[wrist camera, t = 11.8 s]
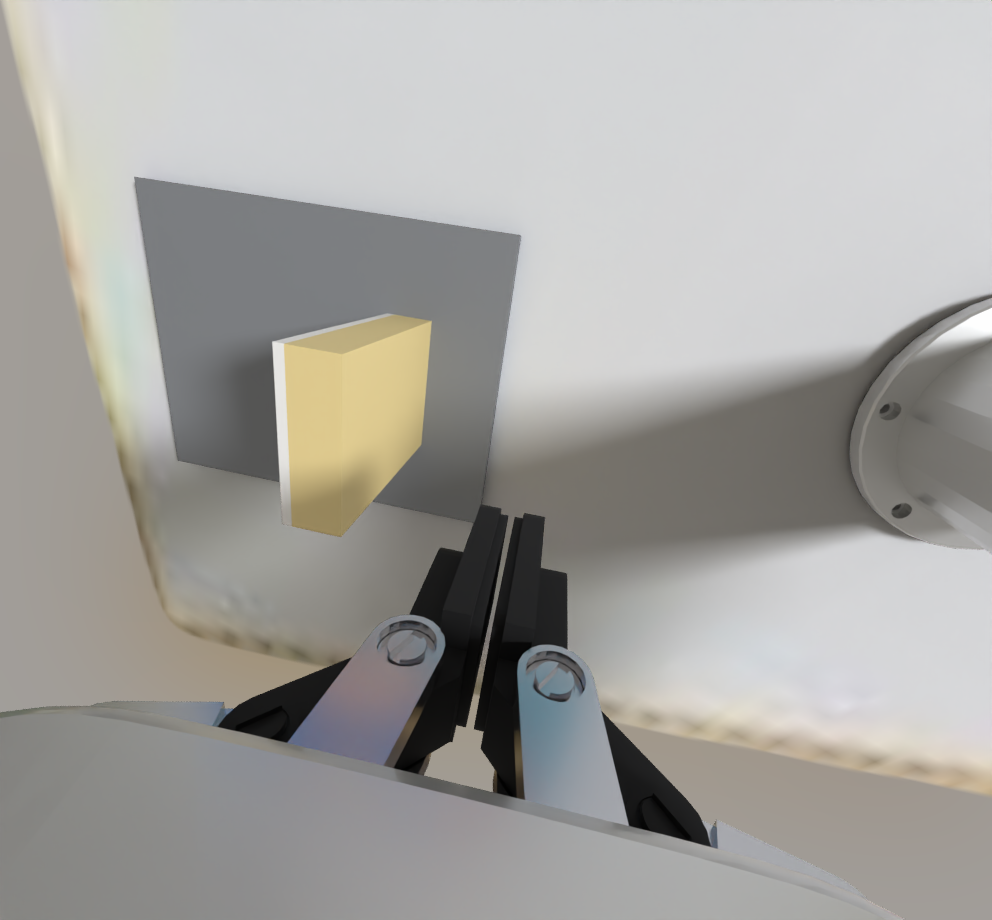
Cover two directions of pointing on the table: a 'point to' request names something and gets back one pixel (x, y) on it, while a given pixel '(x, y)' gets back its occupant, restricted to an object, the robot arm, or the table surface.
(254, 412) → the mat
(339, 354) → the tile
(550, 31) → the table surface
